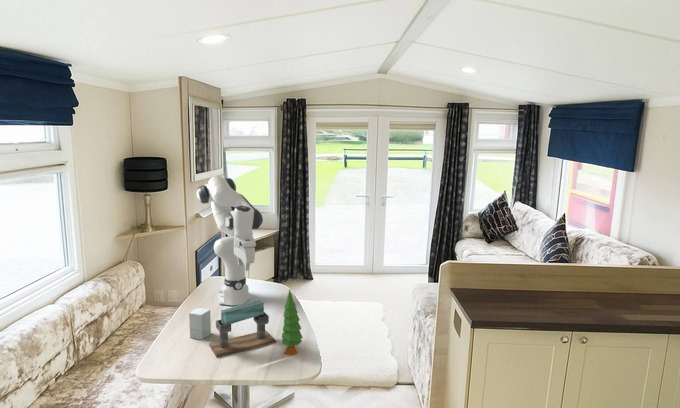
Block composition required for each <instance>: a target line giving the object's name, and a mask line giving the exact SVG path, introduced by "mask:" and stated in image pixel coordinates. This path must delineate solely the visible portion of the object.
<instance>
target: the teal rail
mask: <svg viewBox="0 0 680 408" xmlns="http://www.w3.org/2000/svg"><path fill="white" fill-rule="evenodd" d="M264 304H265V301H262V300H261V299H257V300H253V301H248V302H246V303H244V304H241V305H234V306H232V307H228V308H223V309H221V310H220V317H221V319H220V320H221V323H222V324H224V325H225V326H226V325H229V324H231V325H233V324H235V323H239V322H242V321H245V320H250V319H254V317H256V316H259V315H263V314H264V312H265V310H264V309H265V305H264Z"/></svg>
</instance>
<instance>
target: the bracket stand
mask: <svg viewBox="0 0 680 408" xmlns="http://www.w3.org/2000/svg"><path fill="white" fill-rule="evenodd" d="M269 319H270V316H269V314H268V313H266V312H265V311H264V314H263V315H259V316H256V317H253V321H254V322H255V324H256V332H254V333H253V332H252V333H248V334H244V335H239V336H235V337H231V338H230V337H229V332H232V324H229V325H226V326H225V325H224V324H222V323H221V319H217V320H215V328H216V330H218V332H219V340H217V341H212V342H209V343H208V344H209V345H208V346H209V348H210V350H211V351H212V352H213V354H214V356H215V357H216V358H220V357H225V356H228V355H232V354H237V353H240V352H244V351H250V350H252V349H257V348H261V347H264V346H268V345H271V344H274V343H276V338H274V337H273V335H272V334H271V333H269V332H268V331H267V330H266V325H267V324H269V322H270V320H269Z"/></svg>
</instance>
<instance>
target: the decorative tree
mask: <svg viewBox="0 0 680 408" xmlns="http://www.w3.org/2000/svg"><path fill="white" fill-rule="evenodd" d="M283 308H284V311H283V327H282V333H281V338H282V339H281V340H282V341H281V344H282V345H284V346H286V348H285V351H284V353H283V355H286V356H287V355H288V356H295V355H297V354H298V353H299V352H298V350H297V349H296V346H299V345H300V344H301V343H302V339H303V335H302V333H301V330H302V326H301V324H300V320H301V319H300V317H299V316H298V312H299V311H298V310H297V306H296V304H295V301H294V297H293V294H292V291H291V289H288V294H287V298H286V301H285V303H284V307H283Z"/></svg>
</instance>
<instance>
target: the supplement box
mask: <svg viewBox="0 0 680 408" xmlns="http://www.w3.org/2000/svg"><path fill="white" fill-rule="evenodd" d="M188 318H189V320H188V321H189V338H190V339H196V340H200V341H201V340H204V339H206V338H208V336H210V335H211V334H212V323H211V321H212V320H211V309H208V308H201V307H197V308H196V309H193V310H191V312H189V313H188Z"/></svg>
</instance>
